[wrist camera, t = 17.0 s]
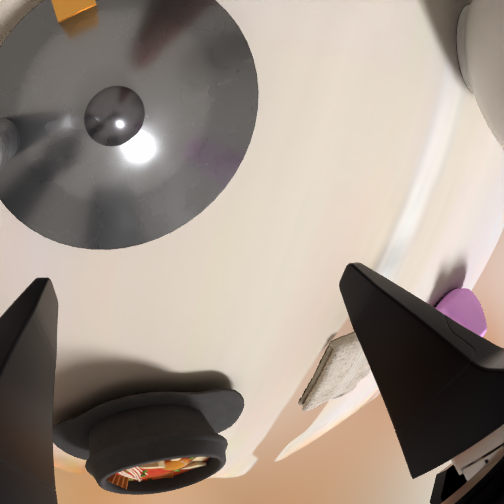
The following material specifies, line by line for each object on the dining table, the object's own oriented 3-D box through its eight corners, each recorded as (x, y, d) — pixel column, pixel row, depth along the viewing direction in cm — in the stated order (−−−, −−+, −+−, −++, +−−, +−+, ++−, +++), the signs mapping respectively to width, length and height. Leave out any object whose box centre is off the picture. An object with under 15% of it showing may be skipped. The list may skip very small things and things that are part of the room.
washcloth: (294, 404, 48) (303, 417, 46) (326, 336, 38) (340, 353, 36) (346, 381, 53) (355, 393, 51) (385, 314, 43) (398, 327, 41)
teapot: (382, 353, 52) (427, 404, 42) (456, 265, 48) (508, 309, 38) (408, 361, 66) (441, 398, 56) (464, 296, 62) (500, 330, 52)
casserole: (82, 457, 32) (93, 506, 26) (19, 396, 22) (23, 469, 15) (236, 421, 41) (259, 466, 35) (241, 350, 31) (278, 414, 25)
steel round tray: (149, 272, 21) (174, 353, 15) (-49, 173, 10) (-108, 233, 5) (294, 87, 18) (377, 107, 12) (106, -63, 7) (112, -129, 2)
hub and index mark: (75, 144, 14) (69, 156, 12) (73, -51, 7) (69, -69, 5) (141, 130, 16) (146, 140, 14) (143, -61, 9) (150, -80, 7)
